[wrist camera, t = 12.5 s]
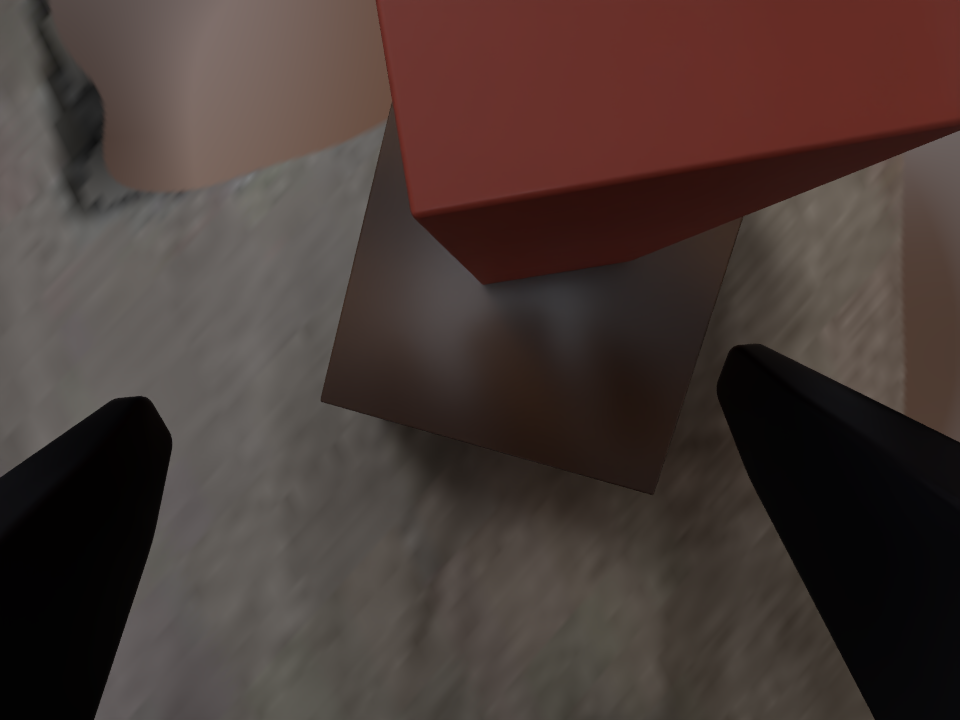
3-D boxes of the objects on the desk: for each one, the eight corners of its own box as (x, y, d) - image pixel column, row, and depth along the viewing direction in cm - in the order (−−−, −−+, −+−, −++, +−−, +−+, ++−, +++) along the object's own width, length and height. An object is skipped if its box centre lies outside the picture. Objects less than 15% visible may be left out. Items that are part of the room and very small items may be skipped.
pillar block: (632, 260, 17) (995, 118, 4) (481, 285, 17) (410, 218, 5) (612, 103, 16) (951, -567, 4) (457, 132, 17) (308, -398, 4)
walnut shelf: (624, 457, 22) (654, 496, 17) (357, 383, 22) (319, 401, 18) (718, 155, 20) (778, 111, 16) (432, 79, 21) (411, 16, 16)
